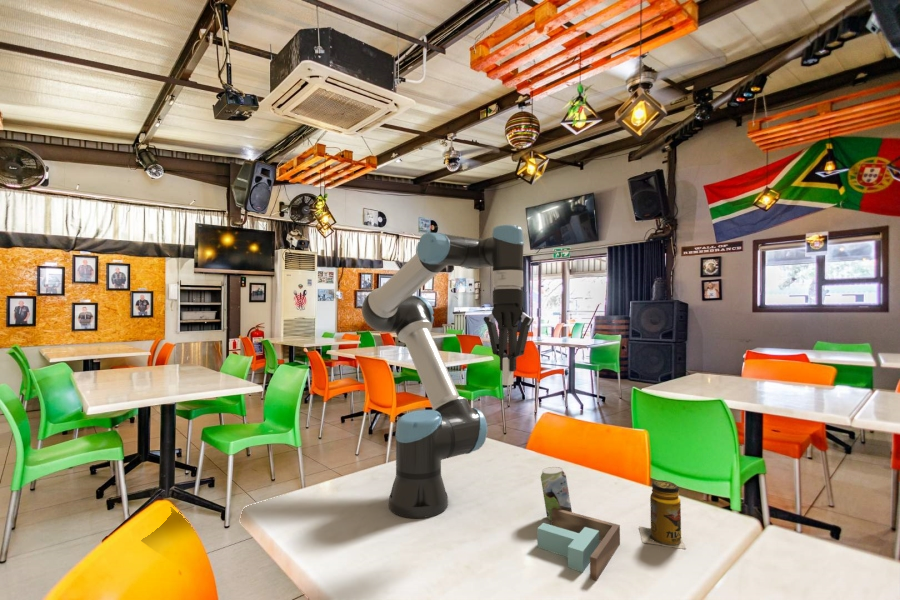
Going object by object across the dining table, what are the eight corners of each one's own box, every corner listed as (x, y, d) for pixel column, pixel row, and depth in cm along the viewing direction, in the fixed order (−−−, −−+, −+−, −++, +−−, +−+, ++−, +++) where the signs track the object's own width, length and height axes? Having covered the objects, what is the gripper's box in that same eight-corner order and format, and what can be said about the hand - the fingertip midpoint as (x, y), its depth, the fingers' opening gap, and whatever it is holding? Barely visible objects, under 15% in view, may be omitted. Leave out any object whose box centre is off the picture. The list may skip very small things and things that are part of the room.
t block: (530, 554, 92) (530, 534, 92) (549, 535, 100) (549, 516, 100) (583, 572, 86) (582, 551, 86) (599, 550, 94) (599, 530, 94)
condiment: (686, 549, 94) (685, 491, 94) (642, 543, 96) (641, 487, 97) (679, 533, 101) (678, 479, 101) (638, 527, 103) (638, 475, 104)
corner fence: (523, 555, 91) (522, 535, 92) (553, 524, 105) (553, 507, 105) (596, 580, 83) (596, 558, 83) (619, 544, 96) (619, 525, 96)
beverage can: (573, 527, 104) (572, 474, 104) (541, 524, 105) (540, 472, 105) (571, 515, 110) (571, 465, 110) (540, 512, 111) (540, 463, 112)
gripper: (477, 288, 111) (477, 383, 110) (524, 287, 103) (525, 389, 103) (493, 290, 117) (493, 380, 117) (538, 288, 109) (539, 385, 109)
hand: (508, 384), depth 110 cm, fingers closed
